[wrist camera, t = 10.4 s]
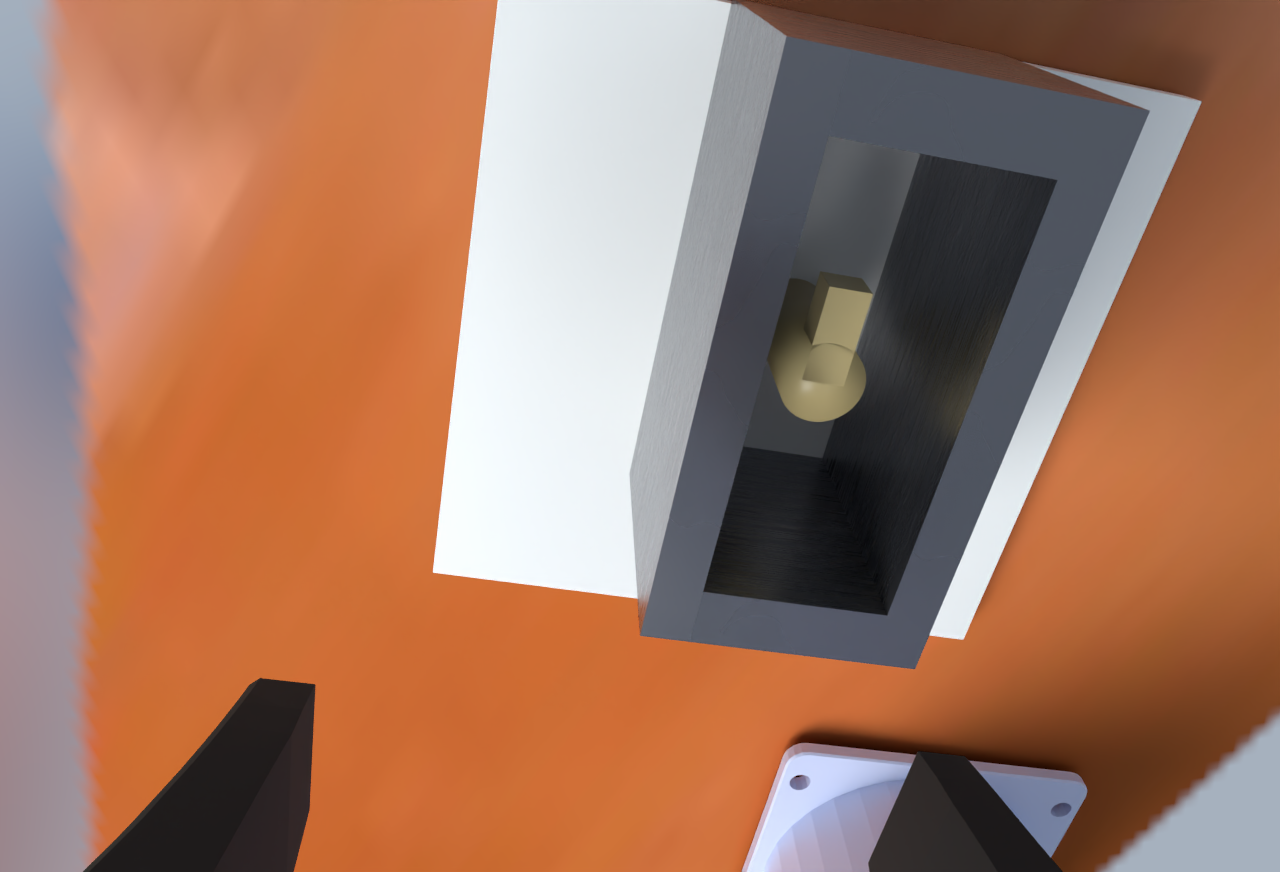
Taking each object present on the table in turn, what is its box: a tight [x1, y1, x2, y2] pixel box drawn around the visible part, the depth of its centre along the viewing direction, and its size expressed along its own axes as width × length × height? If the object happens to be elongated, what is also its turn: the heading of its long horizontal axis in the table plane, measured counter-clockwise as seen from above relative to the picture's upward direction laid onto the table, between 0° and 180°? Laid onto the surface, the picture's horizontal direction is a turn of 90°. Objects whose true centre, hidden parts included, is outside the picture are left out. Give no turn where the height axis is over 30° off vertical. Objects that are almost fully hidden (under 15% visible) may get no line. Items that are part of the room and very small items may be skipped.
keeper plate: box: [433, 0, 1202, 640], centre depth 18 cm, size 12×12×4 cm
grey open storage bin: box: [629, 0, 1150, 669], centre depth 16 cm, size 9×5×5 cm, turn 169°
